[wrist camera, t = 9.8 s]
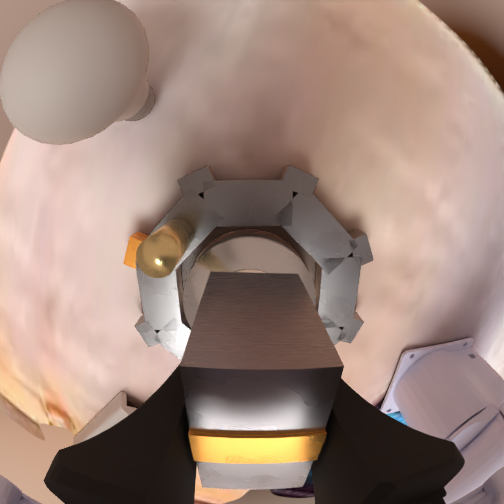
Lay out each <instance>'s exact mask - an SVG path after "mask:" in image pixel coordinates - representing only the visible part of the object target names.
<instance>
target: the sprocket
mask: <svg viewBox="0 0 504 504" xmlns="http://www.w3.org/2000/svg"><path fill="white" fill-rule="evenodd" d="M318 179H319V178H317V177H314V176H312V175H310V174H308V173H306V172H303V171H301V170H299V169H297V168H294V167H292V166H290V165H285V167H284V170H283V172H282V175H281V177H280V179H279V180H277V179H249V180H216V179H215V176H214V174H213V172H212V169H211V167H210V166H206V167H203V168H201V169H199V170H197V171H195V172H193V173H191V174H188V175H186V176H184V177H182V178H180V179H178V180H177V181H178V183H179V185H180V188H181V190H182V192H183V194H184V195H183V196H182V197H181V199H180V200H179V201H178V202H177V203H176V204H175V205H174V206H173V208H172V209H171V210H170V211H169V212H168V213H167V214H166V216H165V217H164V218H163V219H162V220H161V222H160V223H159V224H158V225H157V226H156V227H155V229H154V230H153V231H152V232H151V233H150V235H149V236H148V235H146V234H143V233H141V232H136V233H135V234H133V235H132V236H130V239H129V242H128V246H127V250H126V254H125V259H124V263H123V264H125V265H128V266H130V267H132V268H135V269H136V271H137V277H138V284H139V290H140V296H141V302H142V308H143V313H144V315H142V316H141V317H140V318H139V320H138V322H137V323H136V325H135V327H136V329H137V330H138V332H139V333H140V335H141V336H142V338H143V339H144V341H145V342H146V344H147V345H148V347H150V346H153V345H156V344H160V345H161V346H163V347H164V348H165V349H167V350H168V351H169V352H171V353H172V354H173V355H175V356H176V357H177V358H179V359H180V360H182V357H183V354H184V351H185V348H186V344H187V341H188V338H189V335H190V332H191V329H192V328H191V327H190V325H189V323H188V321H187V319H186V316H185V312H184V307H183V285H182V275H181V263H182V262H183V261H184V260H185V259H186V258H187V257H188V256H189V255H190V254H191V253H192V251H193V250H194V249H195V248H196V247H197V246H198V245H199V244H200V243H201V242H202V241H203V240H204V239H205V238H206V237H207V236H208V234H209V233H210V232H211V231H212V230H213V229H214V228H215V227H227V226H282V227H283V228H284V229H285V230H286V231H287V232H288V233H289V234H290V235H291V236H292V237H293V238H294V239H295V240H296V241H297V242H298V243H299V244H300V246H301V247H302V248H303V249H304V250H305V251H306V252H307V253H308V254H309V255H310V256H311V257H312V258H313V259H314V260H315V261H316V277H315V292H316V305H315V308H316V310H317V312H318V314H319V316H320V318H321V320H322V322H323V324H324V326H325V328H326V330H327V332H328V334H329V336H330V338H331V340H332V342H333V344H334V345H335V344H337V343H338V342H339V341H340V340H341V341H344V342H348V343H351V342H352V340H353V339H354V337H355V336H356V334H357V332H358V331H359V329H360V328H361V326H362V324H363V323H364V322H363V320H362V319H361V318H360V316H359V315H358V313H357V312H354V311H355V305H356V298H357V292H358V284H359V277H360V269H361V266H362V265H364V264H366V263H368V262H371V261H373V256H372V252H371V249H370V245H369V241H368V238H367V234H366V233H364V232H363V231H361V230H359V229H356V230H354V231H351V232H349V233H347V231H346V230H345V229H344V228H343V227H342V226H341V225H340V223H339V222H338V221H337V220H336V219H335V218H334V217H333V216H332V214H331V213H330V212H329V211H328V210H327V209H326V208H325V207H324V205H323V204H322V203H321V202H320V201H319V200H318V199H317V198H316V197H315V196H314V195H313V194H312V193H313V191H314V189H315V186H316V184H317V182H318ZM293 191H294V192H293ZM202 192H204V194H203V193H202Z"/></svg>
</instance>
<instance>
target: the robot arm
mask: <svg viewBox="0 0 504 504" xmlns="http://www.w3.org/2000/svg"><path fill="white" fill-rule="evenodd" d="M473 343H474V339H473V338H472V337H470V338H466V339H462V340H458V341H453V342H449V343H444V344H439V345H434V346H428V347H423V348H417V349H411V350H406V351H405V352H403V353H402V355H401V358H400V361H399V363H398V366H397V369H396V371H395V374H394V377H393V379H392V382H391V384H390V387H389V389H388V392H387V394H386V396H385V399H384V401H383V403H382V405H381V408H380V410H379V409H377V408H376V407H374V406H373V405H371V404H370V403H369V402H367V401H366V400H365V399H363V398H362V397H361V396H360V395H359V394H357V393H356V392H355V391H354V390H353V389H352V388H351V387H349V386H348V385H347V384H346V383H345V382H344V381H343V380H342V379H340V382H339V386H338V389H337V393H336V396H335V400H334V403H333V406H332V409H331V412H330V415H329V418H328V422H327V424H326V427H325V430H326V433H327V435H326V438H325V440H324V443H323V445H322V448H321V451H320V453H319V456H318V458H317V460H313V463H312V465H311V470H312V478H313V486H314V495H315V504H504V380H503V379H502V377H501V376H500V375H499V374H498V373H497V372H496V371H495V370H494V369H493V368H492V367H491V366H490V365H489V364H488V363H487V362H486V361H485V360H484V359H483V358H482V357H481V356H480V355H479V354H478V353H477V352H476V351H475V350H474V349H473V348H472V346H473ZM410 355H411V356H410ZM180 364H181V363H180ZM180 364H179V365H178V367H177V368H176V369H175V371H174V372H173V373H172V374H171V375H170V376H169V378H168V379H167V380H166V381H165V382H164V383H163V385H162V386H161V387H160V388H159V389H158V390H157V391H156V392H155V393H154V394H153V395H152V396H151V397H150V398H149V399H148V400H147V401H145V402H144V403H143V404H142V405H141V406H140V407H139V408H137V409H136V410H135V411H134V412H132V413H131V414H130V415H128V416H127V417H126V418H124V419H123V420H121V421H120V422H118V423H117V424H115V425H114V426H112V427H111V428H109V429H107V430H105V431H103V432H101V433H100V434H98V435H96V436H94V437H92V438H90V439H88V440H85V441H83V442H80V443H78V444H75V445H72V446H70V447H67V448H64V449H61V450H59V451H58V453H57V454H56V456H55V458H54V460H53V461H52V464H51V466H50V468H49V470H48V472H47V474H46V477H45V479H44V482H45V484H46V486H47V488H48V489H49V490H50V491H51V492H52V493H53V494H55V495H56V496H57V497H58V498H59V499H60V500H61V501H63V502H64V503H65V504H194V494H195V479H196V467H197V462H196V461H194V459H193V455H192V450H191V446H190V441H189V436H188V433H189V429H190V428H189V422H188V416H187V411H186V405H185V399H184V392H183V385H182V379H181V371H180ZM396 411H400V412H401V414H402V416H403V418H404V420H405V421H406V423H407V425H408V426H407V425H404V424H402V423H401V422H399V421H397V420H395V419H393V418H391V417H390V416H388V415H386V414H388V413H392V412H396ZM0 504H41V503H39V502H37V501H36V500H34V499H32V498H30V497H29V496H27V495H25V494H24V493H22V492H21V490H20V489H19V488H18V487H16V486H15V485H14V484H13V483H12V482H10V481H9V480H8V479H6V478H4V477H3V476H2V475H0Z"/></svg>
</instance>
